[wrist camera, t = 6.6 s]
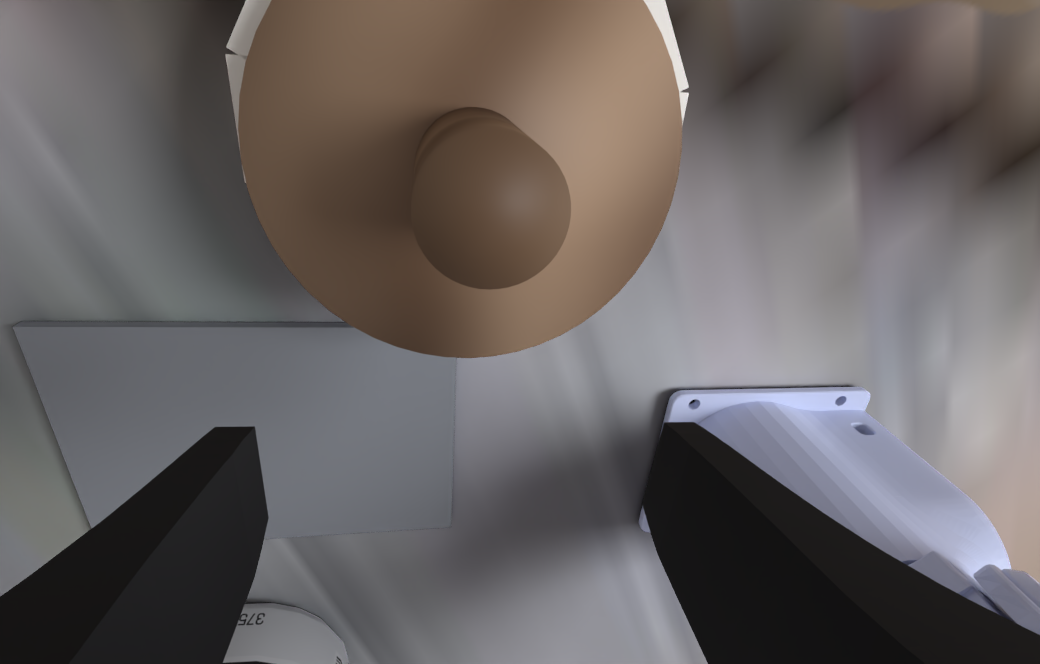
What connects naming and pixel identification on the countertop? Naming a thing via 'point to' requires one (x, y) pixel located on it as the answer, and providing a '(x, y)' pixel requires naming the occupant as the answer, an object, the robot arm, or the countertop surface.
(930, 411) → the countertop surface
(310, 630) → the supplement can
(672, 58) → the bowl
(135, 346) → the mat
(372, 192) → the lid
